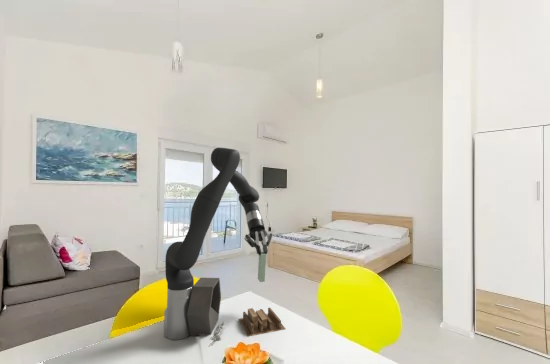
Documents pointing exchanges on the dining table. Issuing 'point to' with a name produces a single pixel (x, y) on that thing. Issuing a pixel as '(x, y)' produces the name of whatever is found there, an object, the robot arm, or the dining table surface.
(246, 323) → the rack
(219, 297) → the planter
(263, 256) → the pale green block
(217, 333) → the white statue
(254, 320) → the offcut
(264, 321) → the offcut
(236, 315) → the dining table surface
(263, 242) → the robot arm
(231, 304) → the dining table surface
